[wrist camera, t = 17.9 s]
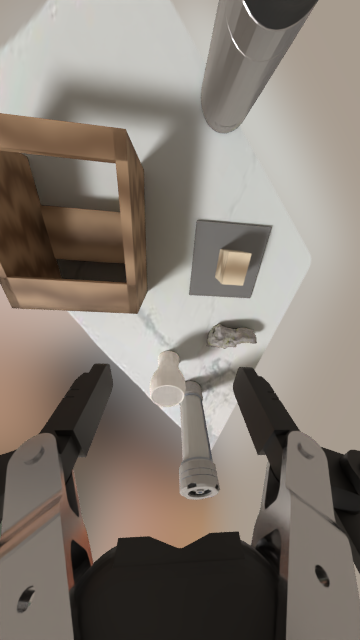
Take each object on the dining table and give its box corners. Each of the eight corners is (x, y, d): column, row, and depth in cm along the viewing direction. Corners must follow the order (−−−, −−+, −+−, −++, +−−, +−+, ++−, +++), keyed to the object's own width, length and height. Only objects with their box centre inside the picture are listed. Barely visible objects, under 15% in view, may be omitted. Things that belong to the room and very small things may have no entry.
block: (220, 249, 39) (229, 251, 33) (239, 250, 40) (251, 253, 33) (215, 277, 43) (222, 284, 36) (232, 278, 43) (242, 285, 37)
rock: (253, 318, 50) (264, 330, 44) (250, 337, 54) (260, 349, 48) (205, 323, 50) (209, 335, 45) (205, 341, 54) (209, 355, 48)
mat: (196, 220, 37) (197, 220, 36) (270, 227, 38) (271, 227, 37) (189, 294, 45) (189, 294, 45) (249, 297, 46) (250, 298, 46)
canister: (204, 391, 66) (225, 494, 40) (183, 399, 68) (190, 502, 42) (194, 377, 62) (211, 482, 36) (172, 385, 64) (172, 492, 37)
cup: (172, 342, 53) (172, 378, 40) (188, 361, 58) (193, 399, 45) (147, 356, 56) (140, 393, 43) (165, 373, 60) (163, 412, 47)
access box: (18, 155, 30) (-88, 102, 18) (143, 169, 32) (125, 129, 20) (58, 286, 43) (12, 308, 30) (147, 291, 44) (137, 313, 32)
